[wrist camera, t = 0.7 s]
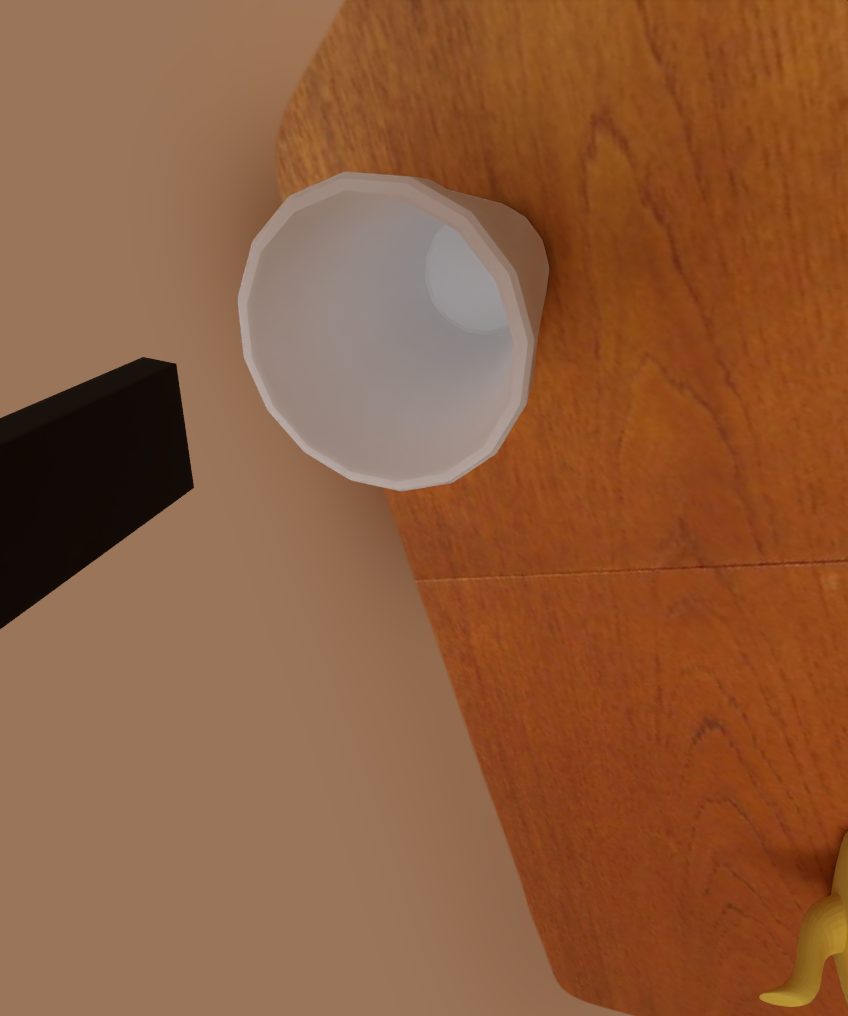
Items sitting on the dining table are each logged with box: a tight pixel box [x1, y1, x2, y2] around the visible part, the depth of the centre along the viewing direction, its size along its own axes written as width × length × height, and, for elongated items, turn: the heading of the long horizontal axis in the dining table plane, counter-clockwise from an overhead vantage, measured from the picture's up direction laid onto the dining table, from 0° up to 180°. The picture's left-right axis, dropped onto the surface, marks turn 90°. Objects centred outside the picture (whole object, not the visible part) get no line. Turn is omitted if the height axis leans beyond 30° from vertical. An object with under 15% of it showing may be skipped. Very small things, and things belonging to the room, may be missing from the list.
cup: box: [237, 171, 549, 491], centre depth 26 cm, size 10×10×13 cm
